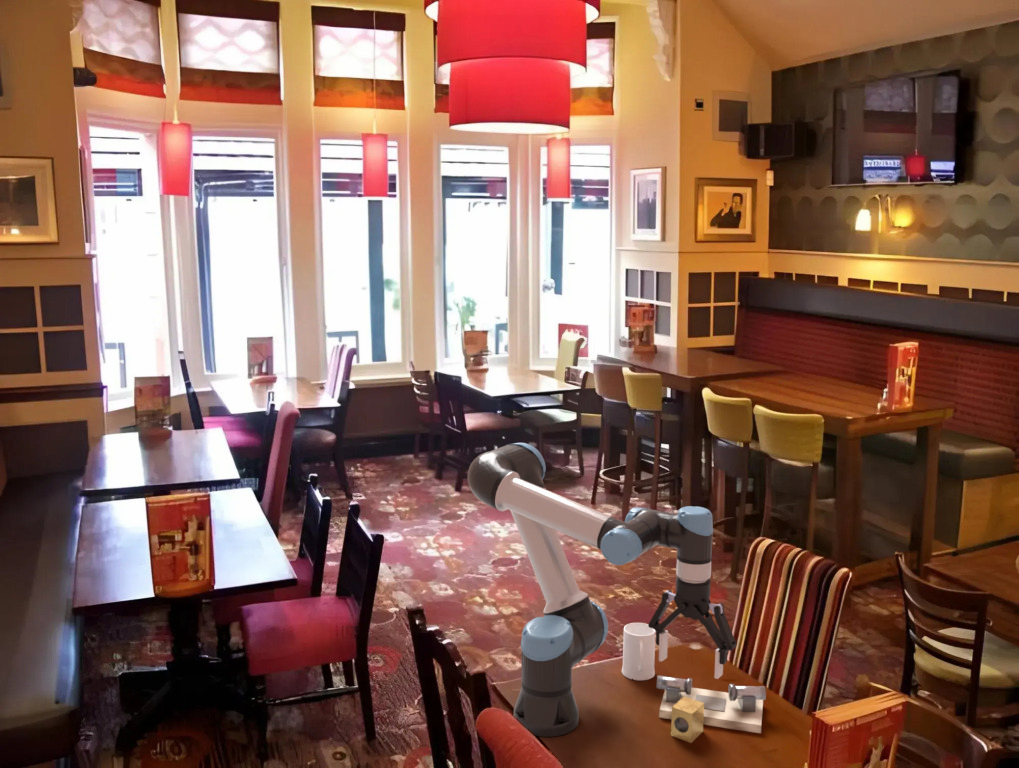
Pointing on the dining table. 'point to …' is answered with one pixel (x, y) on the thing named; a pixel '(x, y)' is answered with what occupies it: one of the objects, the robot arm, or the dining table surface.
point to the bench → (720, 710)
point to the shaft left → (674, 687)
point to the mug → (638, 651)
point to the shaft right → (746, 696)
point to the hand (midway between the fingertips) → (690, 667)
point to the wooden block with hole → (687, 719)
